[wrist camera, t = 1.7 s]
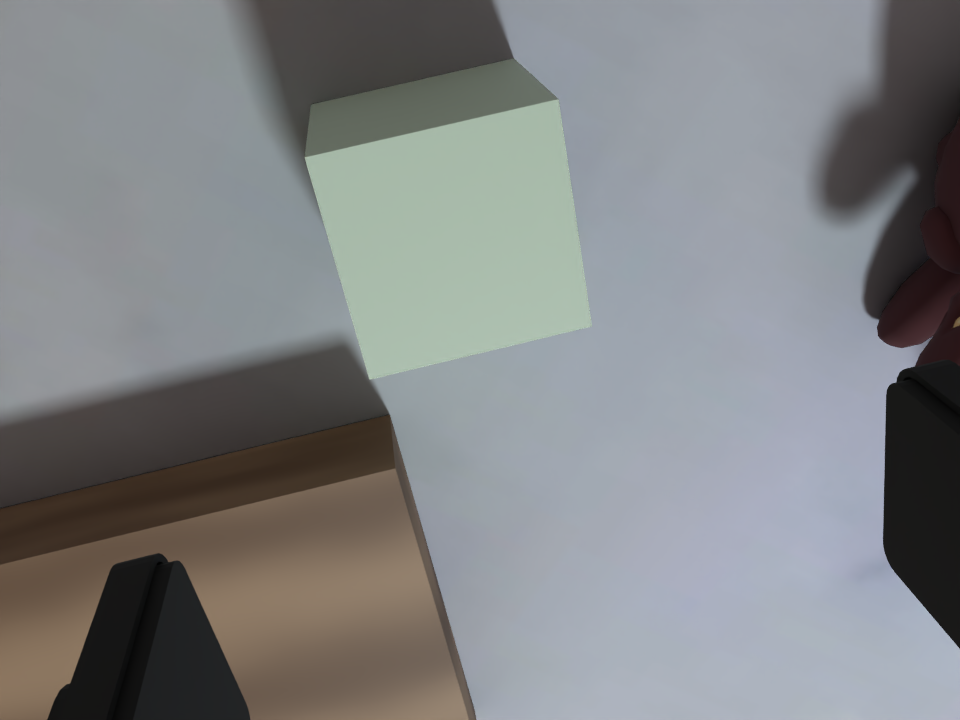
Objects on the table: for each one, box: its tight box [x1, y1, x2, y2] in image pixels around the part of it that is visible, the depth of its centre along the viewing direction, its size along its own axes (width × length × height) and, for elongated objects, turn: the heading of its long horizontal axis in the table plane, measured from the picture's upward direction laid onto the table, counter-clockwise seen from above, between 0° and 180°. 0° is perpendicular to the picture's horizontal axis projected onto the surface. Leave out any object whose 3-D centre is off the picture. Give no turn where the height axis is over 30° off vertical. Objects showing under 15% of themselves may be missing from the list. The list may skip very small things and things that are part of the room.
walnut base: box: [0, 415, 476, 720], centre depth 30 cm, size 14×14×3 cm
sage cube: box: [305, 58, 592, 380], centre depth 22 cm, size 6×6×6 cm
